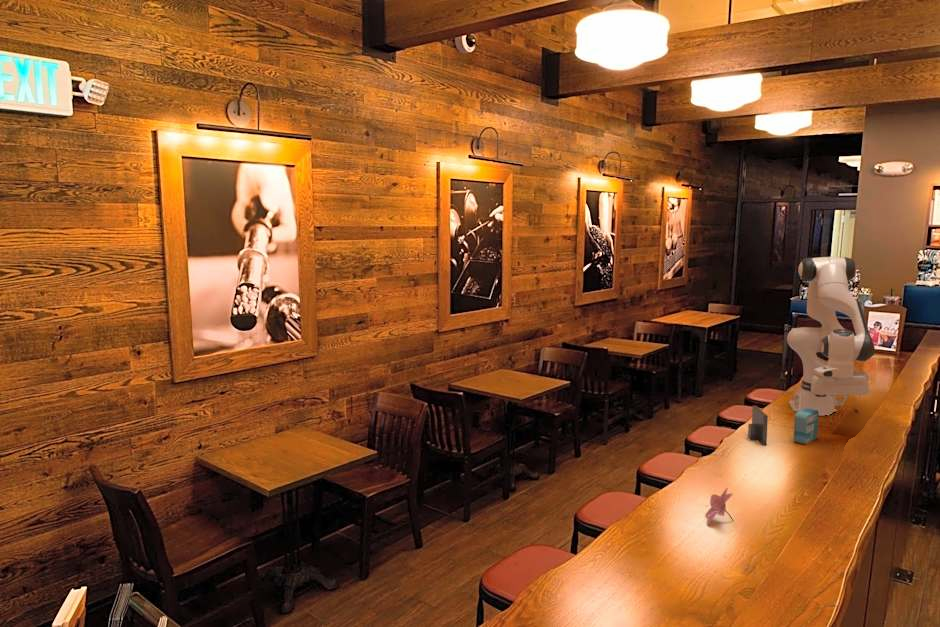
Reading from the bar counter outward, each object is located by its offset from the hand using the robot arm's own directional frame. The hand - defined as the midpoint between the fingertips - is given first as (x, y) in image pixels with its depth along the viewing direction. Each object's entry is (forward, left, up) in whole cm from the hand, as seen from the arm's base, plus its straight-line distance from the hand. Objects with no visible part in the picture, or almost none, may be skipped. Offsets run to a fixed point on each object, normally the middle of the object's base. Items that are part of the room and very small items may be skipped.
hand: (838, 405), depth 246 cm
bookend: (0, -31, -15) cm, 34 cm away
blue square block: (0, -11, -15) cm, 19 cm away
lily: (+73, -63, -15) cm, 97 cm away
